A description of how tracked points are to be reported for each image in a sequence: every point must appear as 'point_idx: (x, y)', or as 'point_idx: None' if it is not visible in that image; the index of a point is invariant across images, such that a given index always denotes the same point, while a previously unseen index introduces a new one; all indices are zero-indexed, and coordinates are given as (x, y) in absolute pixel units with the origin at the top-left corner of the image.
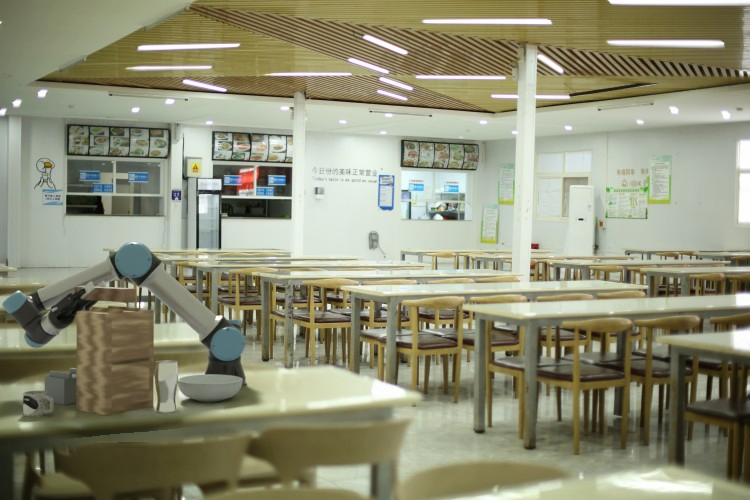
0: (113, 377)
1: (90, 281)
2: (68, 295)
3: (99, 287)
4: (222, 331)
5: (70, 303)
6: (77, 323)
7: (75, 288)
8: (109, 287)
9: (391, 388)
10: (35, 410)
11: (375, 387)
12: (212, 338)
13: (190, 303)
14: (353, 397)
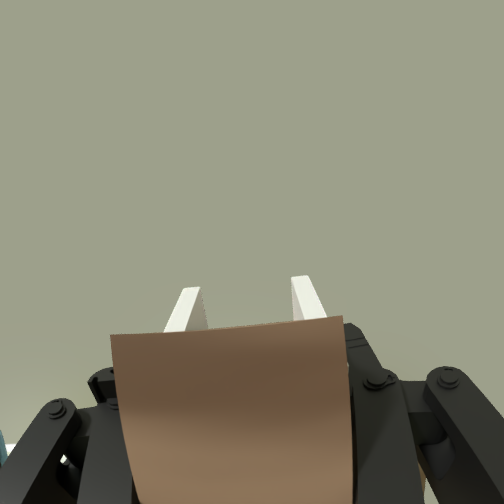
0: None
1: (304, 276)
2: (465, 389)
3: (269, 323)
4: (3, 439)
5: (435, 490)
6: (422, 474)
7: (341, 348)
8: (238, 326)
9: (15, 445)
10: None
11: (8, 450)
12: (4, 461)
13: None
14: (65, 460)
